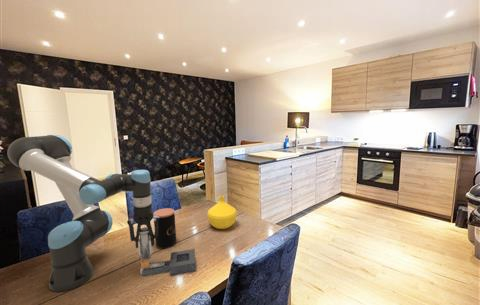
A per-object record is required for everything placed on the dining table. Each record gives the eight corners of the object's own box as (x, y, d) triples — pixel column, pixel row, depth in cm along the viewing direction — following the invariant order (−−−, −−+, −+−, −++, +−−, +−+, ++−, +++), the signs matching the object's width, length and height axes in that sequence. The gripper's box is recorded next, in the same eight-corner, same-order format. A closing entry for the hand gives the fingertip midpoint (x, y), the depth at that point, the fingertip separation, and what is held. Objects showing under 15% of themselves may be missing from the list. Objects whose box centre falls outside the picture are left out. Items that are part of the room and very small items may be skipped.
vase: (221, 216, 154) (220, 189, 151) (242, 223, 143) (242, 194, 140) (201, 227, 139) (200, 197, 136) (224, 235, 128) (223, 203, 126)
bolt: (140, 274, 97) (139, 262, 97) (141, 270, 100) (140, 259, 99) (164, 270, 100) (164, 259, 99) (165, 266, 102) (164, 255, 101)
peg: (139, 262, 101) (137, 233, 99) (141, 255, 106) (139, 227, 104) (151, 260, 102) (149, 231, 100) (152, 254, 107) (150, 226, 105)
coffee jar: (170, 249, 115) (168, 216, 113) (151, 248, 118) (149, 215, 115) (179, 239, 126) (178, 208, 123) (162, 237, 128) (160, 207, 125)
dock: (141, 280, 93) (140, 272, 93) (145, 264, 104) (144, 256, 103) (196, 271, 99) (195, 262, 98) (195, 256, 109) (194, 248, 109)
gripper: (119, 209, 94) (123, 260, 98) (161, 206, 99) (164, 255, 102) (123, 203, 102) (127, 250, 105) (163, 200, 106) (165, 246, 109)
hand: (145, 252), depth 104 cm, fingers closed on peg, 4 cm apart
